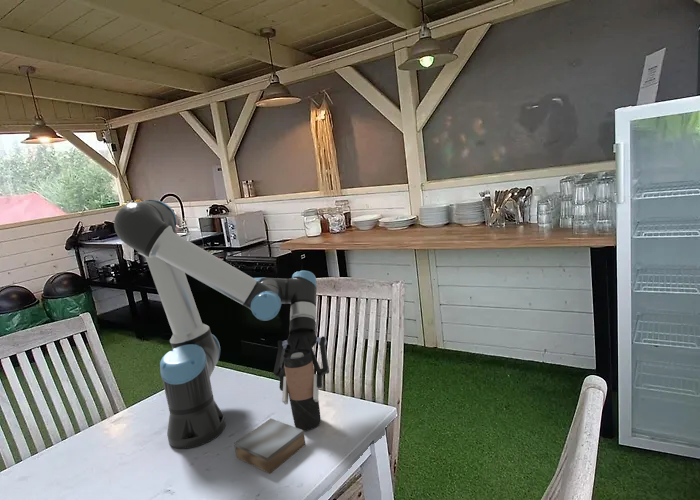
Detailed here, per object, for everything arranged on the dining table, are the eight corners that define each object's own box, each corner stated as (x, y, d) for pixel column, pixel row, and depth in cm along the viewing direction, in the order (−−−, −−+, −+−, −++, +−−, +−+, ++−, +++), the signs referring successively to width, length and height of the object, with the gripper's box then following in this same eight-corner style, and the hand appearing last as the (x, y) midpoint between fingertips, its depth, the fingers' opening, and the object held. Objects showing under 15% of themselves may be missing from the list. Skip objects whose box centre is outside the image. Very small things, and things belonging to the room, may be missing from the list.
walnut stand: (237, 457, 109) (234, 443, 109) (273, 431, 119) (270, 418, 118) (269, 473, 102) (267, 457, 101) (305, 444, 111) (303, 430, 110)
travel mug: (319, 430, 116) (308, 357, 113) (290, 432, 117) (279, 360, 114) (324, 414, 124) (313, 346, 121) (297, 416, 125) (286, 349, 122)
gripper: (339, 323, 130) (341, 402, 117) (272, 329, 132) (266, 408, 119) (335, 311, 124) (336, 394, 111) (264, 318, 126) (257, 400, 113)
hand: (300, 401), depth 115 cm, fingers closed on travel mug, 7 cm apart
